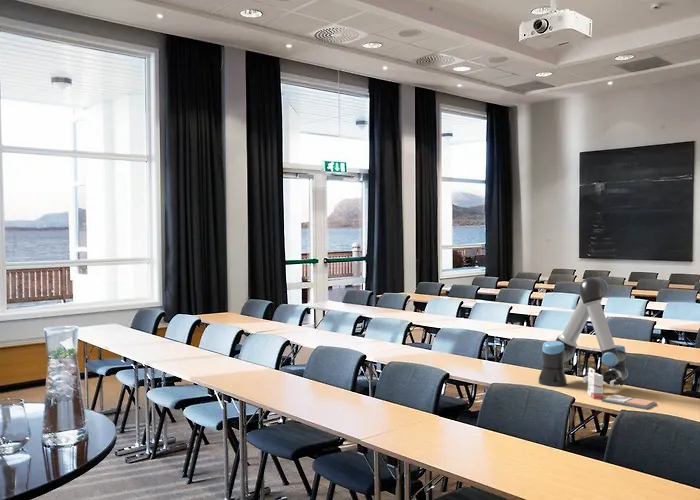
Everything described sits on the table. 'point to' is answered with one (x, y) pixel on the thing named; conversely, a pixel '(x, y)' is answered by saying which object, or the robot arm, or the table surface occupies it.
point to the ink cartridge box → (595, 384)
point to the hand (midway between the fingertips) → (597, 382)
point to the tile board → (630, 402)
